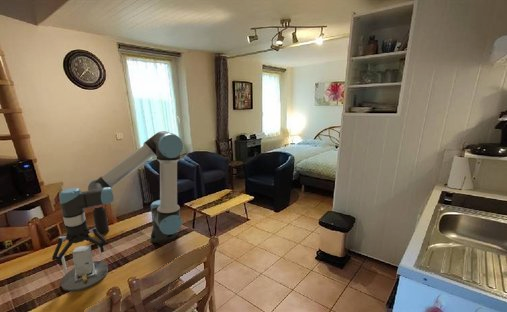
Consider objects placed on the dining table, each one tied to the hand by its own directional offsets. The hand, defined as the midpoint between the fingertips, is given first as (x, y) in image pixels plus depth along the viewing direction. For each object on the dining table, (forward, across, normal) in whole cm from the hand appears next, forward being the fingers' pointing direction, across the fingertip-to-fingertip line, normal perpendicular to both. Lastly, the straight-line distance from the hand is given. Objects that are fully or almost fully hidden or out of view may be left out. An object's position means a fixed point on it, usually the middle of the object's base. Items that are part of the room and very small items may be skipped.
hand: (84, 264), depth 110 cm
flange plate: (+7, 0, 0) cm, 7 cm away
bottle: (+7, -9, -41) cm, 42 cm away
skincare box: (+4, 0, 0) cm, 4 cm away
